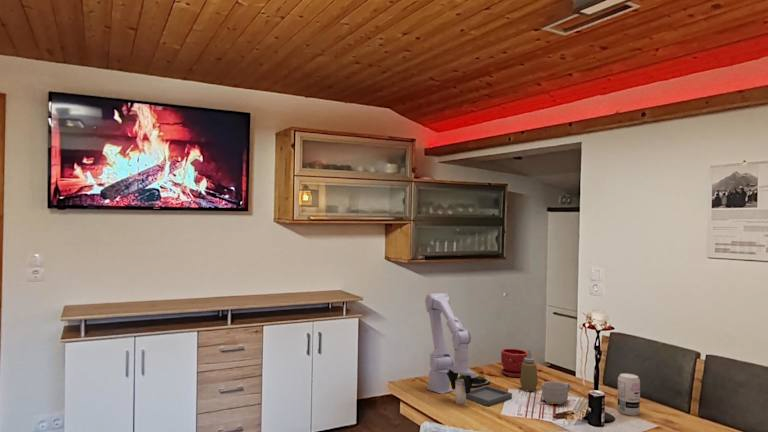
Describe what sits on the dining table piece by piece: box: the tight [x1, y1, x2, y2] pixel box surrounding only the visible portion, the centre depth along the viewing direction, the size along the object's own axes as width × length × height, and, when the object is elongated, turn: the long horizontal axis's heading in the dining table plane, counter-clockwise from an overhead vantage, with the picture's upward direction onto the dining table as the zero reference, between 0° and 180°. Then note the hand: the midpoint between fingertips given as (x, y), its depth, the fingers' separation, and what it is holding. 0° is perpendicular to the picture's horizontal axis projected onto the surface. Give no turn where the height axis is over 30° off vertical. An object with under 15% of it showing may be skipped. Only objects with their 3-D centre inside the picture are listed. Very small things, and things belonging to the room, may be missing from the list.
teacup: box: [541, 381, 572, 406], centre depth 230 cm, size 14×11×8 cm
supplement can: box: [617, 373, 641, 417], centre depth 218 cm, size 8×8×15 cm
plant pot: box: [500, 348, 528, 378], centre depth 271 cm, size 13×13×12 cm
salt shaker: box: [454, 379, 467, 405], centre depth 228 cm, size 5×5×9 cm
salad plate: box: [457, 374, 491, 389], centre depth 258 cm, size 19×18×5 cm
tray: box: [466, 385, 513, 407], centre depth 233 cm, size 14×16×2 cm
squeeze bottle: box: [519, 349, 539, 392], centre depth 247 cm, size 8×8×18 cm
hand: (460, 391), depth 228 cm, fingers open, 7 cm apart
